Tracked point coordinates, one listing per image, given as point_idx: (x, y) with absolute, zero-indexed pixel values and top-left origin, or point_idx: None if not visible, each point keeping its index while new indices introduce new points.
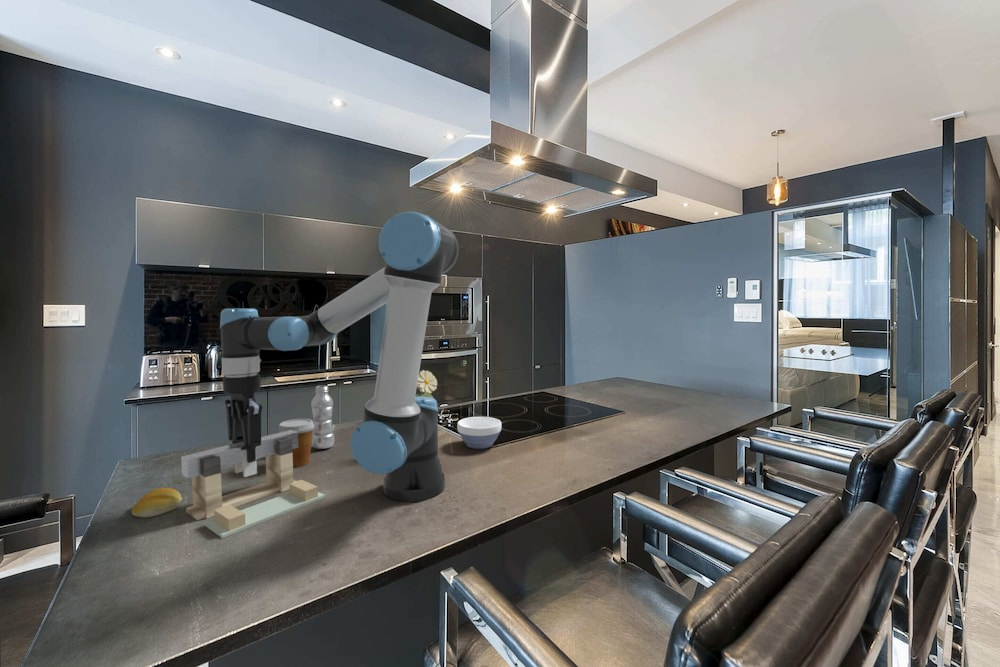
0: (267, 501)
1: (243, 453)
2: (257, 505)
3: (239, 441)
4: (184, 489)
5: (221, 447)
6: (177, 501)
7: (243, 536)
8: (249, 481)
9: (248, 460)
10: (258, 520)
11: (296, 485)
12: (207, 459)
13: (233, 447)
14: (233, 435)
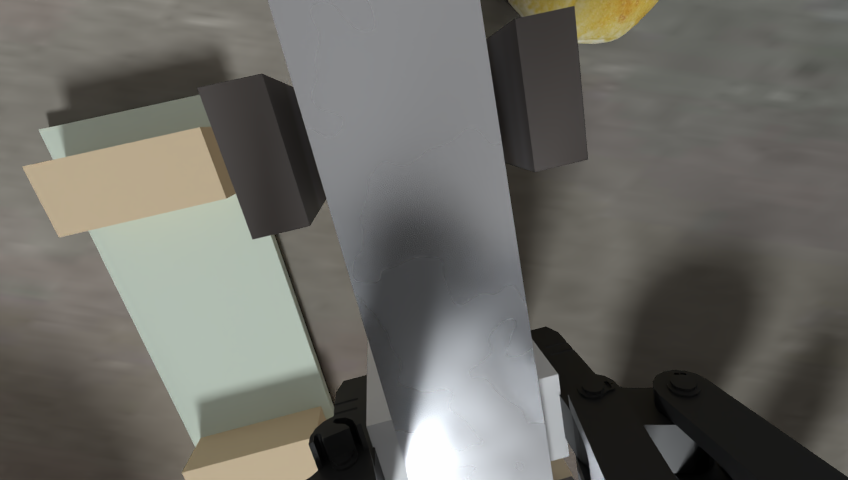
0: (294, 329)
1: (370, 400)
2: (277, 292)
3: (572, 433)
4: (711, 75)
5: (494, 287)
6: (531, 13)
7: (22, 200)
8: (588, 305)
9: (351, 388)
10: (115, 271)
11: (273, 455)
12: (244, 123)
13: (408, 376)
14: (624, 446)
